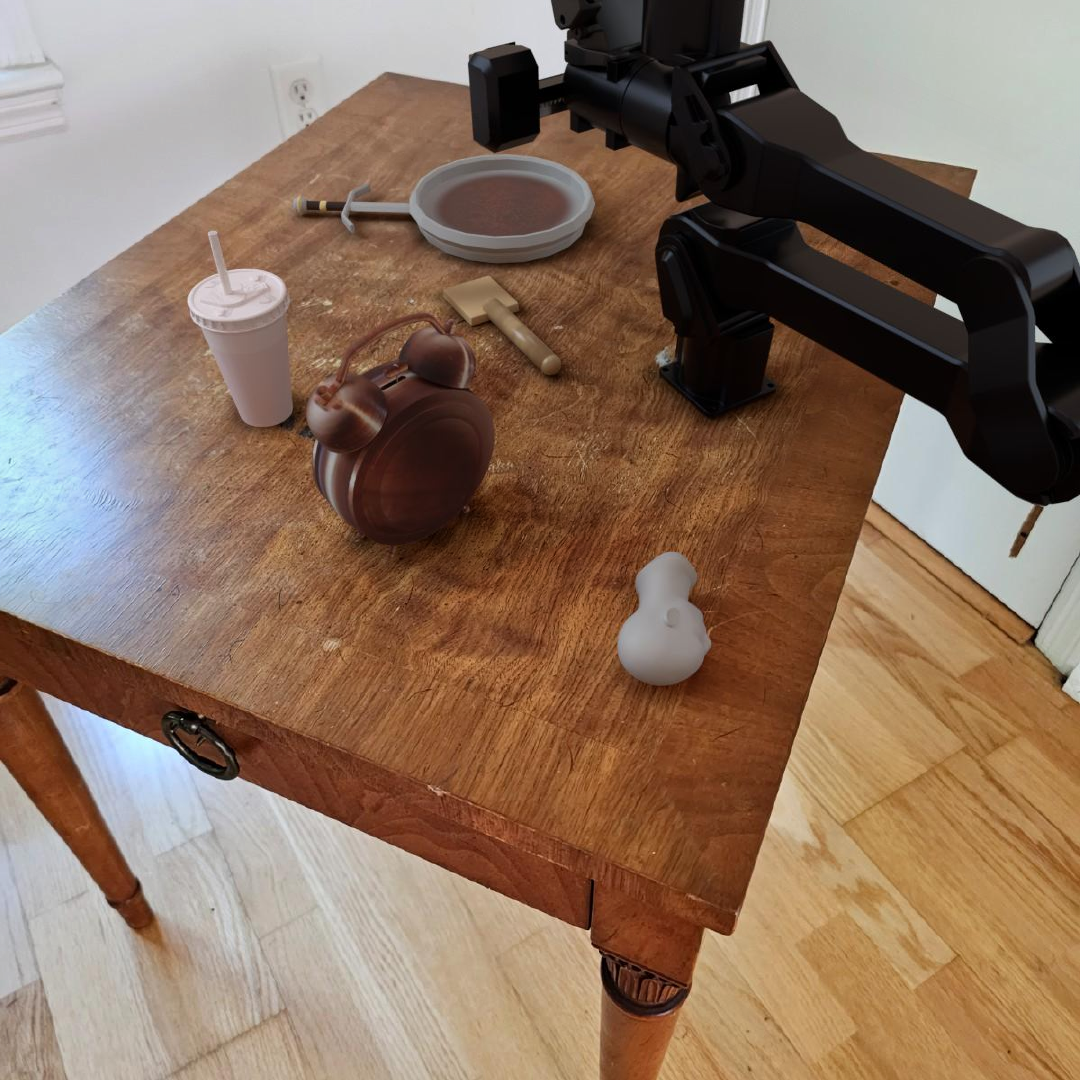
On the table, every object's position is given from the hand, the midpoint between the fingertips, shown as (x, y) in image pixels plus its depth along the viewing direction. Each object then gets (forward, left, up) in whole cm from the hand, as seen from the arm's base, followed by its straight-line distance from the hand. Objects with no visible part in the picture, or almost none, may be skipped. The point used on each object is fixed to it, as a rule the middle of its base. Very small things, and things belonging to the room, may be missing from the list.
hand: (520, 48), depth 74 cm
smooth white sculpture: (-43, +16, -17) cm, 49 cm away
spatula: (-11, +8, -16) cm, 21 cm away
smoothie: (-11, +28, -17) cm, 34 cm away
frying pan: (+8, +4, -17) cm, 19 cm away
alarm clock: (-27, +24, -17) cm, 40 cm away
